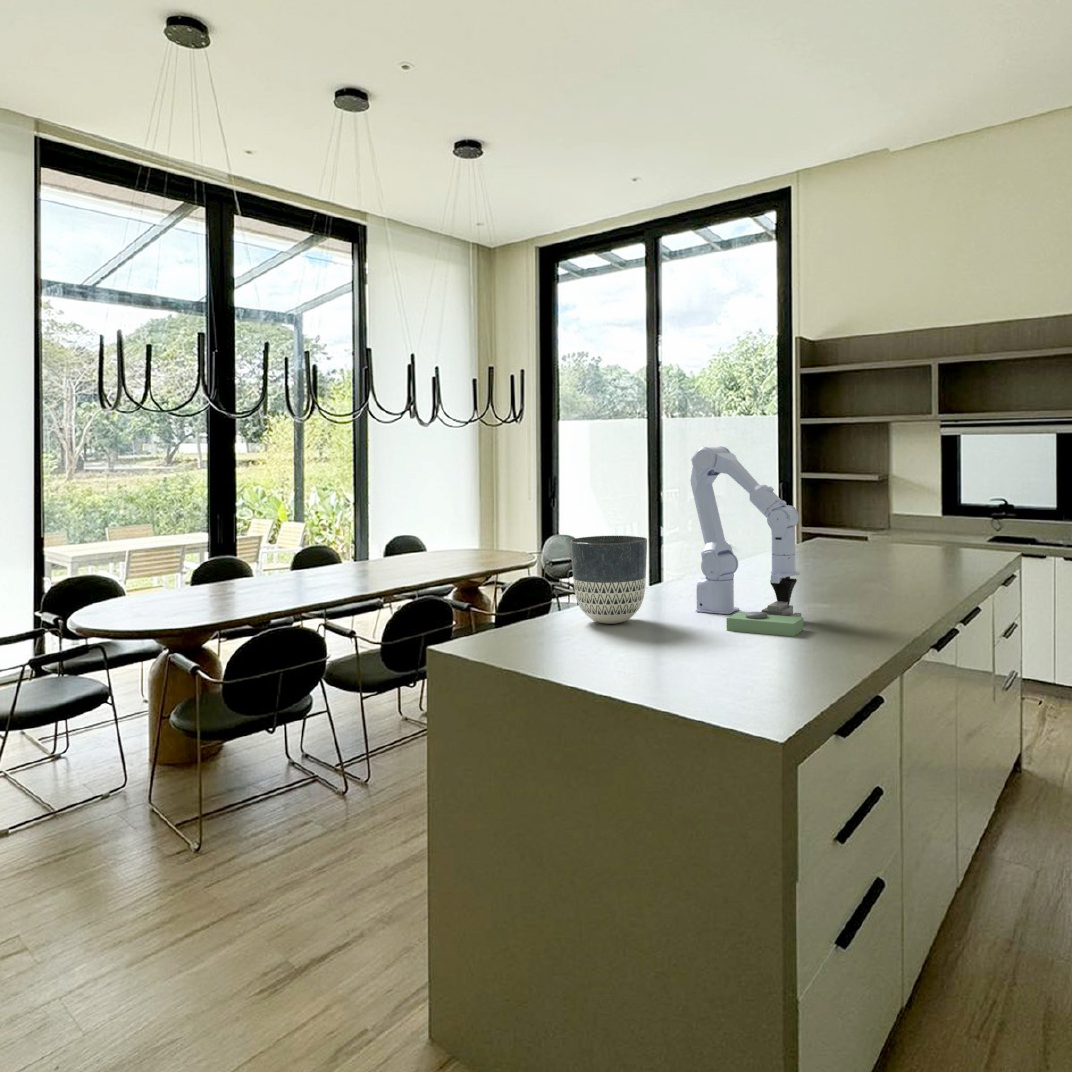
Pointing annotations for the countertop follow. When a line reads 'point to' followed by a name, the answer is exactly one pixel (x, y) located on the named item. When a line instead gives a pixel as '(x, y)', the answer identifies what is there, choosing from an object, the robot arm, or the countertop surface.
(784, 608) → the stepped grey block
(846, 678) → the countertop surface
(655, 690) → the countertop surface
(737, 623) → the deck
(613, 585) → the planter
